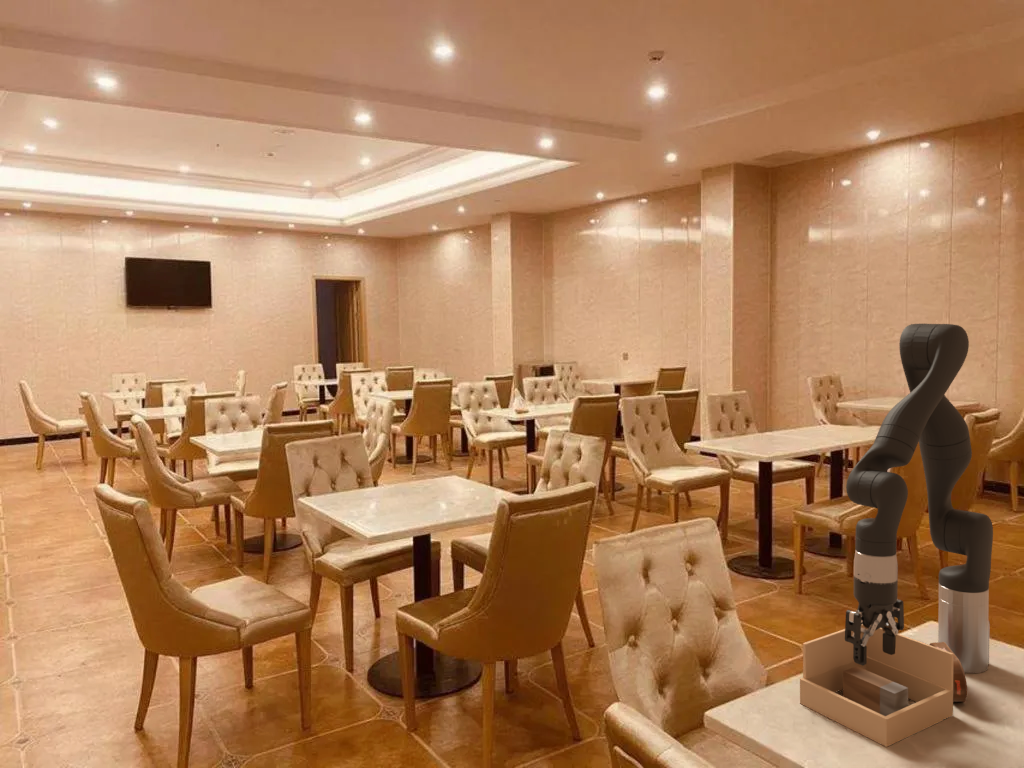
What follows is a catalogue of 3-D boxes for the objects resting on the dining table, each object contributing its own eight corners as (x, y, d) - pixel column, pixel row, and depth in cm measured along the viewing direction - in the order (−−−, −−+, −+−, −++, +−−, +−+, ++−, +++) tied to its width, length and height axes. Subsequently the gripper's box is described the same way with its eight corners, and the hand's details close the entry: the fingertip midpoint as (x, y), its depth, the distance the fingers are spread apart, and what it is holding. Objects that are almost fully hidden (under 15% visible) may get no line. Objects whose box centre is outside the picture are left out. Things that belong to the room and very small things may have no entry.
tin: (968, 710, 148) (969, 667, 147) (950, 709, 149) (951, 666, 148) (942, 674, 163) (942, 635, 162) (925, 673, 163) (925, 634, 163)
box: (856, 695, 155) (856, 666, 155) (908, 718, 146) (908, 687, 145) (843, 700, 153) (843, 671, 153) (894, 724, 144) (894, 693, 143)
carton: (864, 677, 162) (865, 621, 161) (952, 715, 146) (953, 653, 145) (800, 703, 153) (799, 644, 152) (886, 746, 137) (886, 680, 136)
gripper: (881, 563, 154) (880, 643, 155) (833, 576, 147) (832, 660, 148) (917, 573, 148) (916, 657, 149) (868, 587, 141) (868, 675, 142)
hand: (874, 658), depth 148 cm, fingers open, 8 cm apart
